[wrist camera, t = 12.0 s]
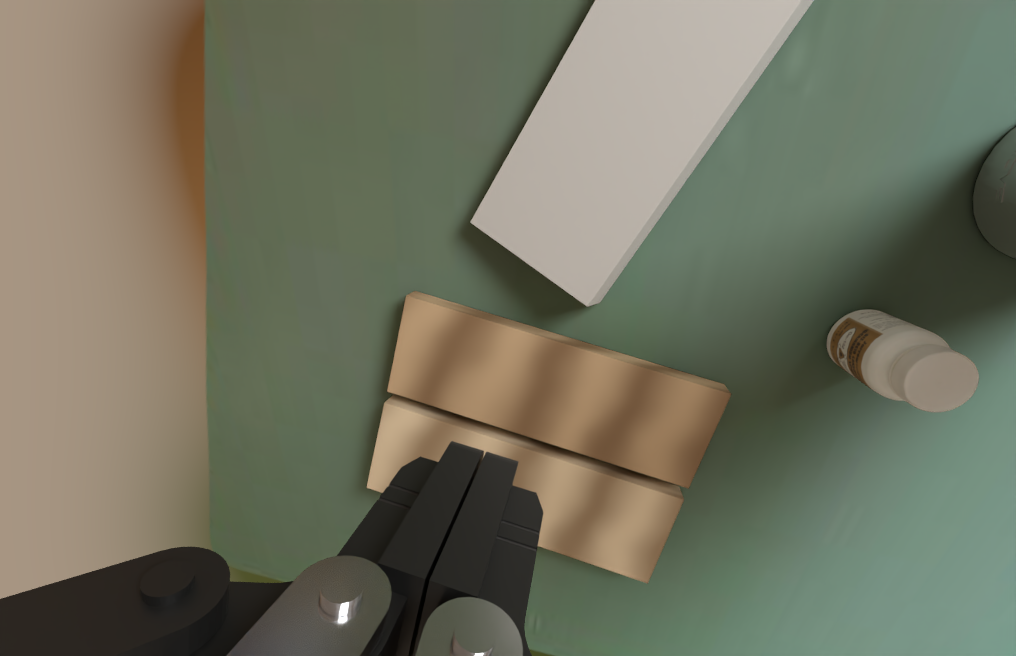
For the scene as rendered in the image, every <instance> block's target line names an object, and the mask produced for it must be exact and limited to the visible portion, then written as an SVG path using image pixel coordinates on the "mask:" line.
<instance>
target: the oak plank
mask: <svg viewBox="0 0 1016 656" xmlns="http://www.w3.org/2000/svg"><path fill="white" fill-rule="evenodd" d="M451 441H454V442H457V443H460V444H463V445H467V446H470V447H473V448H476V449H480V450H483V451H484V455H485V453H486V452H490V453H493V454H496V455H500V456H503V457H506V458H509V459H513V460H516V461H519V463H518V467H517V470H516V474H515V478H514V481H513V486H516V487H520V488H523V489H526V490H529V491H532V492H536V493H537V496H538V498H539V501H540V504H541V507H542V509H543V518H542V524H541V530H540V534H539V541H538V546H539V547H542V548H545V549H548V550H551V551H554V552H557V553H560V554H563V555H566V556H569V557H572V558H575V559H578V560H580V561H583V562H586V563H589V564H592V565H595V566H598V567H601V568H604V569H607V570H610V571H613V572H616V573H619V574H622V575H624V576H627V577H630V578H633V579H636V580H639V581H642V582H645V583H648V582H649V579H650V577H651V575H652V572H653V570H654V568H655V566H656V563H657V561H658V559H659V556H660V554H661V552H662V549H663V547H664V545H665V543H666V540H667V538H668V536H669V533H670V531H671V529H672V526H673V524H674V522H675V520H676V517H677V515H678V513H679V510H680V508H681V506H682V503H683V501H684V498H683V496H682V493H681V490H680V487H679V486H676V485H673V484H670V483H667V482H664V481H661V480H658V479H655V478H652V477H649V476H645V475H642V474H639V473H636V472H633V471H630V470H627V469H624V468H621V467H617V466H614V465H611V464H608V463H605V462H602V461H599V460H596V459H593V458H590V457H586V456H583V455H580V454H577V453H574V452H571V451H568V450H565V449H562V448H559V447H555V446H552V445H549V444H546V443H543V442H540V441H537V440H534V439H531V438H527V437H524V436H521V435H518V434H515V433H512V432H509V431H506V430H503V429H500V428H496V427H493V426H490V425H487V424H484V423H481V422H478V421H475V420H472V419H469V418H465V417H462V416H459V415H456V414H453V413H450V412H447V411H444V410H441V409H437V408H434V407H431V406H428V405H425V404H422V403H419V402H416V401H413V400H410V399H406V398H403V397H400V396H397V395H394V394H393V395H392V396H391V397H390V398H389V399H388V400H387V401H386V402H385V403H384V407H383V412H382V417H381V422H380V426H379V431H378V436H377V440H376V445H375V450H374V455H373V459H372V464H371V469H370V473H369V478H368V483H367V488H369V489H372V490H375V491H378V492H381V493H383V492H384V490H385V489H386V488H387V486H389V484H390V482H391V481H392V479H393V478H394V477H395V475H396V474H397V472H398V471H399V470H400V468H401V467H402V466H404V465H406V464H408V463H410V462H411V461H413V460H415V459H417V458H419V457H420V456H421V457H424V458H427V459H430V460H433V461H436V462H439V460H440V459H441V457H442V455H443V454H444V452H445V450H446V449H447V447H448V445H449V444H450V442H451ZM483 457H484V456H483Z"/></svg>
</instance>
